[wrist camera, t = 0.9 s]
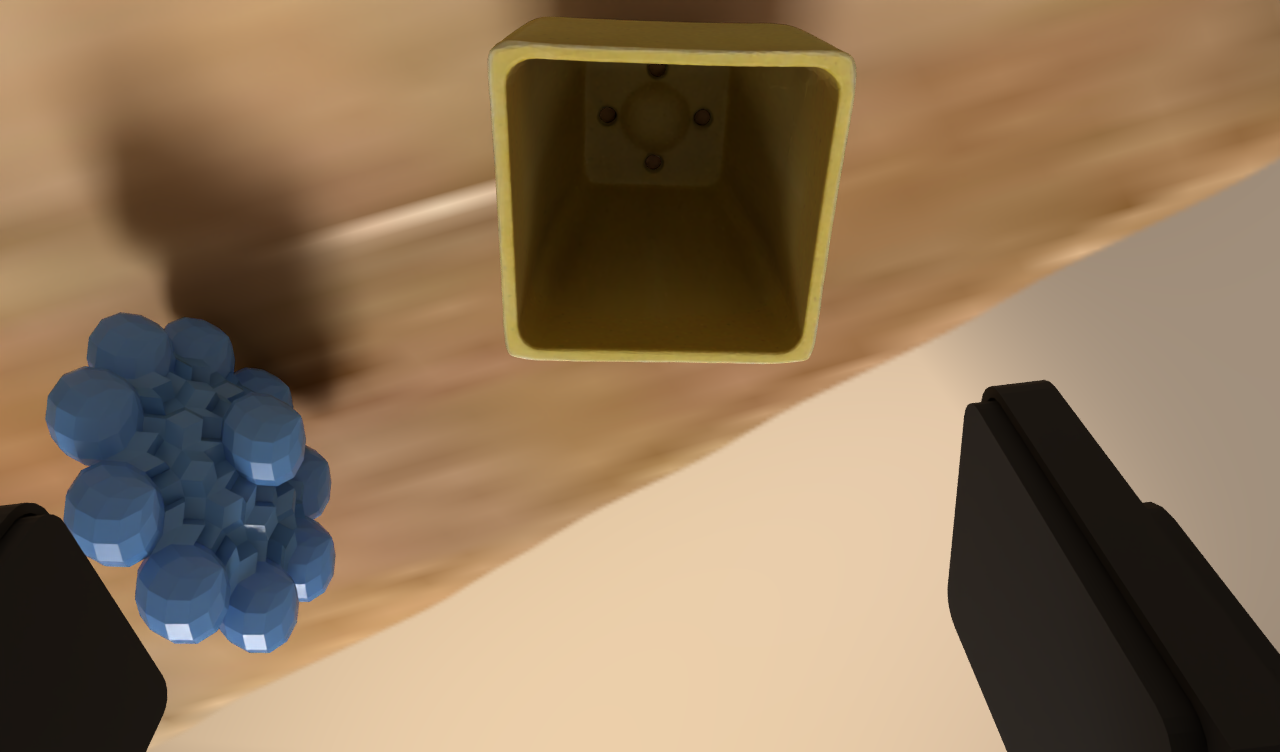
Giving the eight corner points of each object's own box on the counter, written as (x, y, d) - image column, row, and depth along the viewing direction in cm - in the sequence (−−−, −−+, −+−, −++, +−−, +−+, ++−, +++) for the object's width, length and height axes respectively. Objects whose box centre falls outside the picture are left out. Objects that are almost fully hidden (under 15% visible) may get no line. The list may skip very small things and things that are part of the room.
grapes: (441, 427, 38) (384, 661, 28) (321, 497, 40) (226, 740, 29) (230, 209, 32) (62, 403, 22) (101, 303, 34) (-108, 521, 24)
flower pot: (525, 231, 33) (503, 364, 25) (515, -27, 28) (484, 42, 21) (764, 235, 33) (812, 366, 26) (794, -19, 29) (863, 51, 21)
